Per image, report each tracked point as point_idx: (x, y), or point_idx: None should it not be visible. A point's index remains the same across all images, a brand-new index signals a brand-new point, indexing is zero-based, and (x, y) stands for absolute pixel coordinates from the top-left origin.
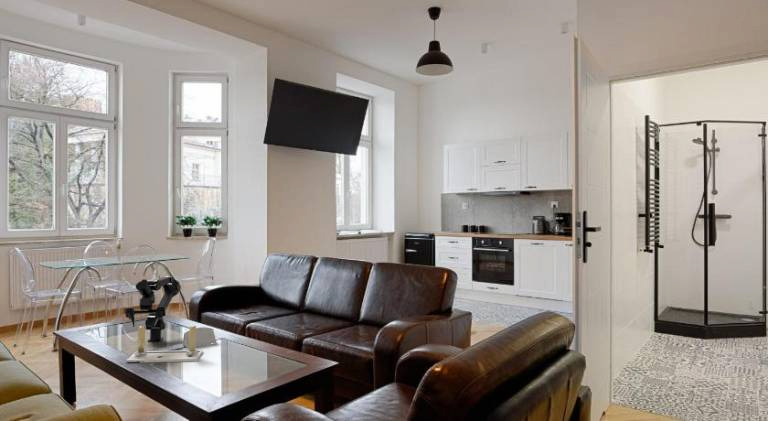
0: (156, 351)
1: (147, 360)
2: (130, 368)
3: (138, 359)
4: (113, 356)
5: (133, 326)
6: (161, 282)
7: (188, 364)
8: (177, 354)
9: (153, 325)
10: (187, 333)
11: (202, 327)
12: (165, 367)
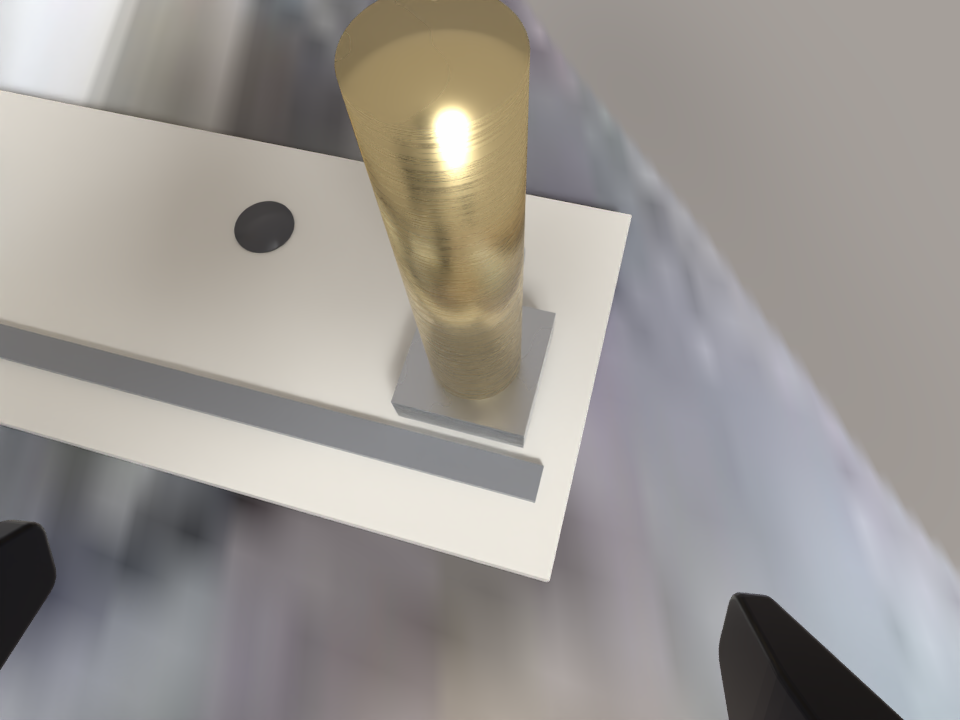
0: (274, 467)
1: None
2: (556, 69)
3: None
4: (849, 548)
5: (746, 606)
6: None
7: (62, 42)
8: (65, 257)
9: (45, 542)
10: None
11: None
12: (259, 22)
